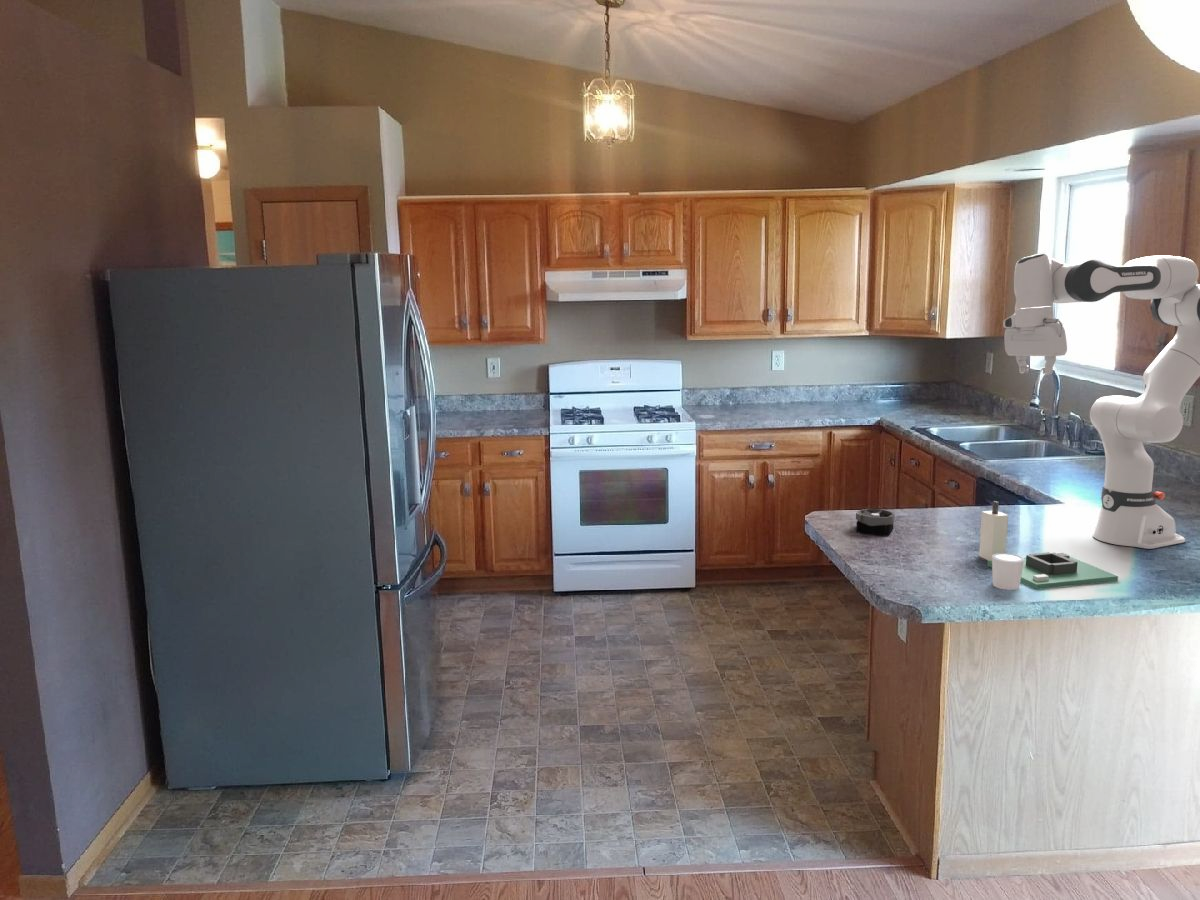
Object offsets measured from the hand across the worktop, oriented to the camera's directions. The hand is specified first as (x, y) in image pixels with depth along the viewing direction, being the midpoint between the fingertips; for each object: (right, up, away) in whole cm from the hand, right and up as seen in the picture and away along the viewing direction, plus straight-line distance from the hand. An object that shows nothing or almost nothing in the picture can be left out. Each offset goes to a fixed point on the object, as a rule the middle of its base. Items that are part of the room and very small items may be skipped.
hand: (1035, 373), depth 225 cm
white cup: (-16, -52, -19) cm, 57 cm away
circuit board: (-2, -50, -11) cm, 51 cm away
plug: (-10, -48, +2) cm, 49 cm away
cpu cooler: (-32, -43, +28) cm, 61 cm away
